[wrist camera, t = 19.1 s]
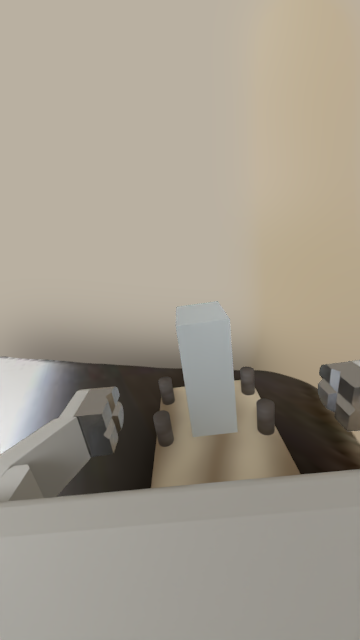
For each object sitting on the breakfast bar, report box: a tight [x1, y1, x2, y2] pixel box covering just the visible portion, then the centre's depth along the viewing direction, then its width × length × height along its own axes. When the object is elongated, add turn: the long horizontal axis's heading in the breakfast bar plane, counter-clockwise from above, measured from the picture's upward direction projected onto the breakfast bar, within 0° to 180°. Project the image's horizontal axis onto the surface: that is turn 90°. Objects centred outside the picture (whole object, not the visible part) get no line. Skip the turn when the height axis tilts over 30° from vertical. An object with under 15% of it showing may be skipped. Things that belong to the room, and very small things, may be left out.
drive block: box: [176, 301, 238, 437], centre depth 23 cm, size 4×6×12 cm
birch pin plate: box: [151, 367, 300, 488], centre depth 23 cm, size 12×15×4 cm
